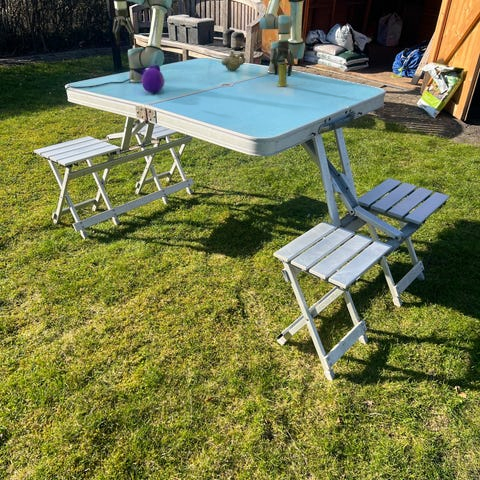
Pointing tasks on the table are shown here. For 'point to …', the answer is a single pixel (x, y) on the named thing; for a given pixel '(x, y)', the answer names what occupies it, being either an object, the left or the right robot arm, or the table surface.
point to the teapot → (233, 61)
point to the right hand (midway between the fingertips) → (282, 75)
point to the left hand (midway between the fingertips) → (125, 45)
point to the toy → (152, 79)
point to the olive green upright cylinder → (282, 75)
